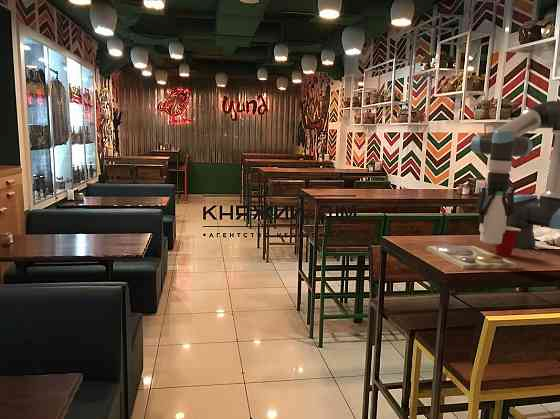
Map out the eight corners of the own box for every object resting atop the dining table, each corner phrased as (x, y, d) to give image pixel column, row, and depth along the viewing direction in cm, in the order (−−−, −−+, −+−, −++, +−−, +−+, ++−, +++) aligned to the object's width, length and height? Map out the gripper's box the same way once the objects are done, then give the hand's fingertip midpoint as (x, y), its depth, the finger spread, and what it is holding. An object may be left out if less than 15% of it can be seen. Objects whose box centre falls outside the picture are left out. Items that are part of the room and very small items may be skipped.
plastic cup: (522, 256, 196) (526, 227, 194) (510, 259, 190) (513, 230, 188) (496, 250, 205) (500, 223, 203) (484, 253, 198) (487, 225, 196)
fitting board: (473, 249, 204) (473, 245, 204) (516, 268, 177) (517, 264, 177) (426, 249, 200) (426, 246, 200) (463, 268, 173) (463, 264, 173)
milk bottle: (503, 245, 177) (509, 192, 173) (481, 243, 179) (487, 190, 175) (499, 241, 184) (506, 190, 181) (478, 239, 186) (484, 188, 183)
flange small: (470, 259, 182) (470, 257, 181) (478, 262, 177) (478, 260, 177) (458, 259, 181) (458, 257, 180) (465, 262, 176) (466, 260, 176)
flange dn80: (492, 255, 188) (492, 253, 188) (508, 262, 179) (509, 260, 178) (469, 255, 186) (469, 254, 186) (484, 263, 177) (485, 261, 177)
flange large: (460, 246, 202) (460, 244, 202) (479, 255, 188) (479, 253, 188) (429, 246, 199) (430, 244, 199) (447, 255, 186) (447, 253, 186)
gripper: (516, 171, 182) (509, 229, 186) (468, 170, 179) (461, 229, 182) (530, 173, 175) (522, 234, 179) (480, 172, 171) (473, 233, 175)
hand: (491, 231), depth 181 cm, fingers closed on milk bottle, 8 cm apart
